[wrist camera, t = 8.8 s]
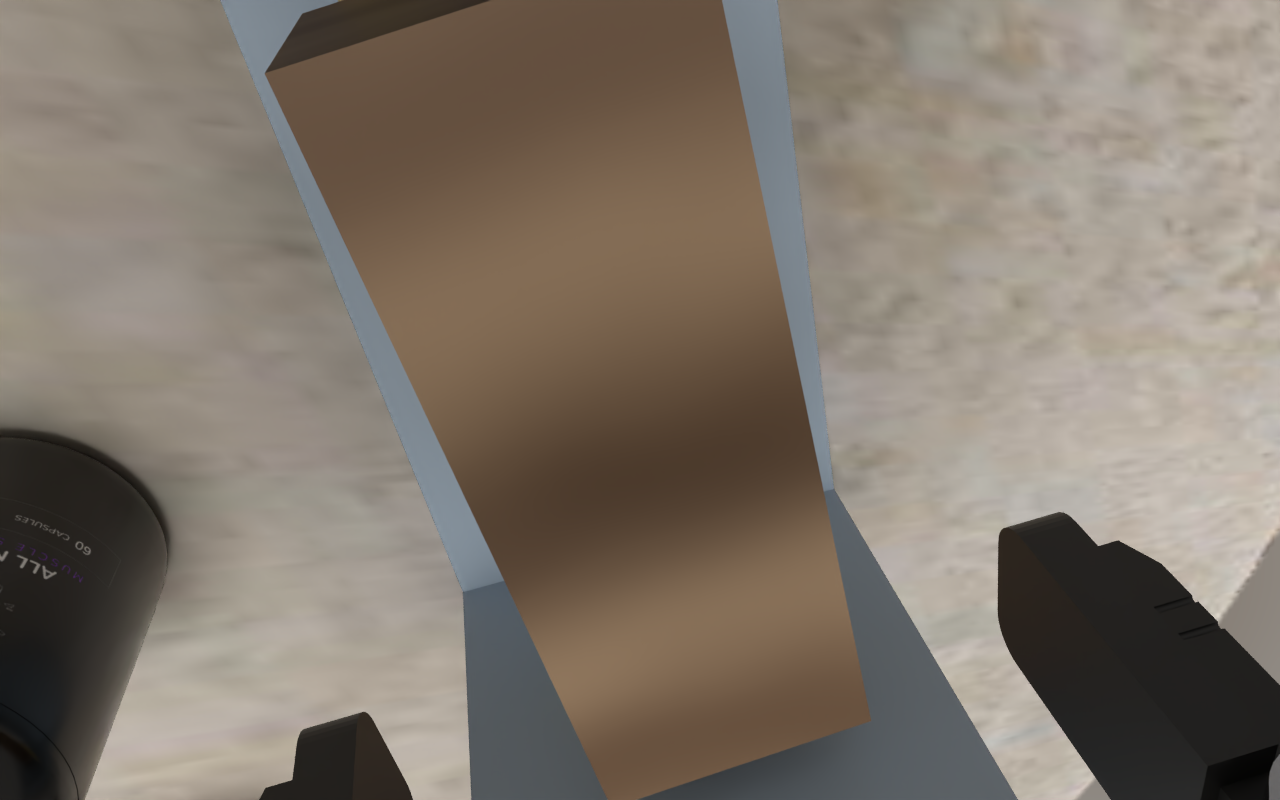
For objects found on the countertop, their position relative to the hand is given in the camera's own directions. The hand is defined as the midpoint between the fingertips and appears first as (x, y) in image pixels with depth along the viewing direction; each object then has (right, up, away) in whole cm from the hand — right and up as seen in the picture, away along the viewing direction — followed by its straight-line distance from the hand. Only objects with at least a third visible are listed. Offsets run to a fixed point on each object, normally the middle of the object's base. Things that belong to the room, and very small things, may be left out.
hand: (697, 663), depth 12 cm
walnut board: (-1, +4, +7) cm, 8 cm away
